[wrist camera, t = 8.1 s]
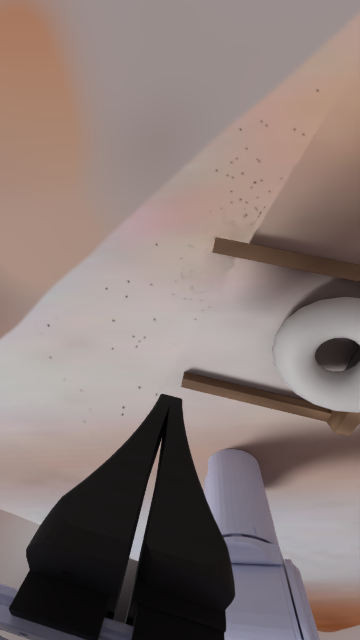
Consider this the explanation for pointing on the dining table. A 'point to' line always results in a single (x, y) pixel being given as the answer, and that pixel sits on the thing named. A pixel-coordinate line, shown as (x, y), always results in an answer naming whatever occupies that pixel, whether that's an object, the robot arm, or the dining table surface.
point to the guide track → (335, 419)
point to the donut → (300, 347)
